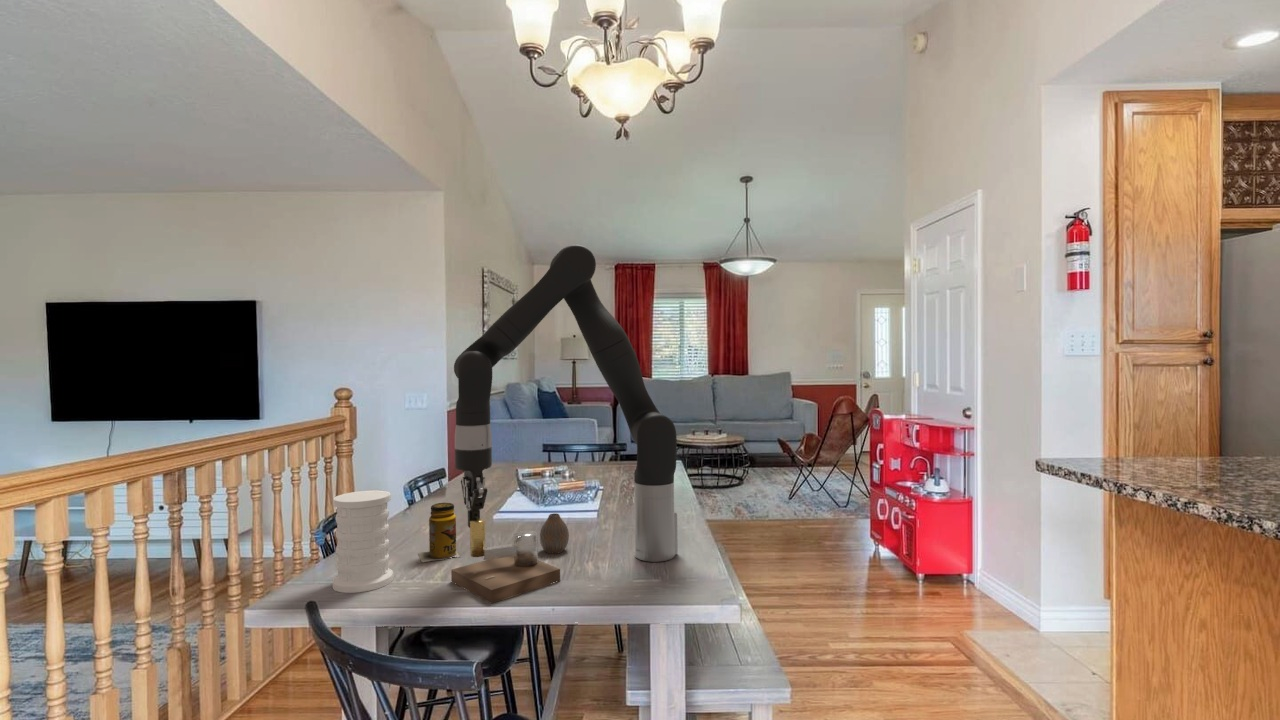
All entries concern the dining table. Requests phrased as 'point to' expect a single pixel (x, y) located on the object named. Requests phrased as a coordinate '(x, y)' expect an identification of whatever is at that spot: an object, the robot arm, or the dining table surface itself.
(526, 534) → the crank handle
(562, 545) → the vase
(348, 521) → the decorative container
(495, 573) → the stand
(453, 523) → the condiment
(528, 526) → the dining table surface
